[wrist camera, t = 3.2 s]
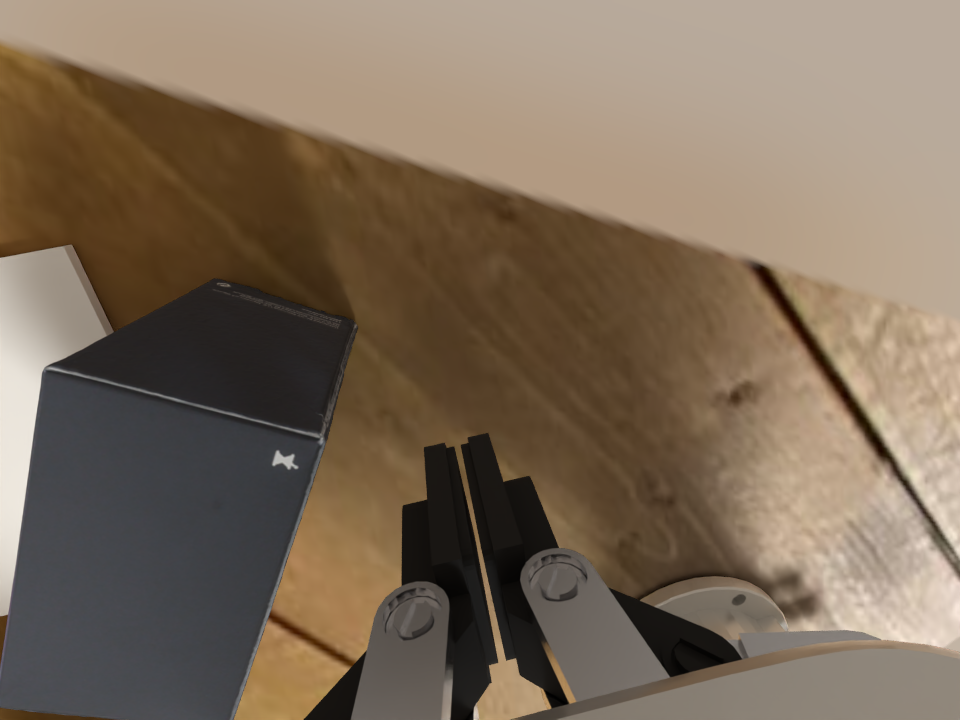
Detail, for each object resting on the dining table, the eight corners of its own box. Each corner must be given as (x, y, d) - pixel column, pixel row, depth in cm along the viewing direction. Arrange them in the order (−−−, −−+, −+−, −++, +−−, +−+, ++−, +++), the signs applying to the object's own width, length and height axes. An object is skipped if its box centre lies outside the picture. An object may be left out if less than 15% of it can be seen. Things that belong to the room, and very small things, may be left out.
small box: (203, 269, 20) (20, 353, 10) (361, 319, 21) (340, 432, 12) (153, 486, 22) (-29, 721, 13) (298, 515, 24) (237, 739, 14)
